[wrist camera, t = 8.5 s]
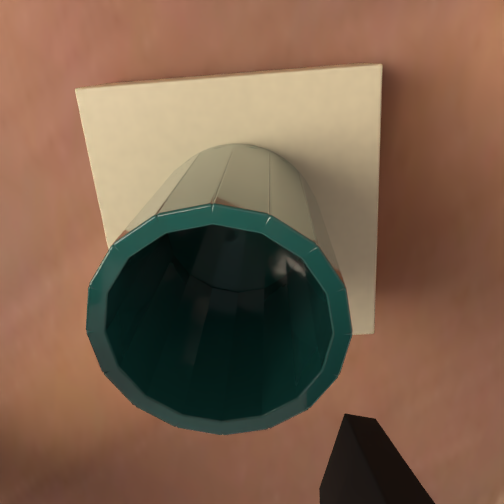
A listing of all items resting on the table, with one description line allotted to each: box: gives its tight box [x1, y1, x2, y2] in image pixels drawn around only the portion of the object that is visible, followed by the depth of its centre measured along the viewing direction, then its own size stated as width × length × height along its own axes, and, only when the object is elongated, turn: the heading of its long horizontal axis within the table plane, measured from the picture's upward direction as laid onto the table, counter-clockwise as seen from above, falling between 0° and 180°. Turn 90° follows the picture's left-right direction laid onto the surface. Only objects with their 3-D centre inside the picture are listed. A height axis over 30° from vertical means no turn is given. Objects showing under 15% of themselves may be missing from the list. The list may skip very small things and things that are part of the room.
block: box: [75, 63, 383, 335], centre depth 16 cm, size 9×9×3 cm
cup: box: [86, 144, 353, 435], centre depth 12 cm, size 5×5×6 cm
